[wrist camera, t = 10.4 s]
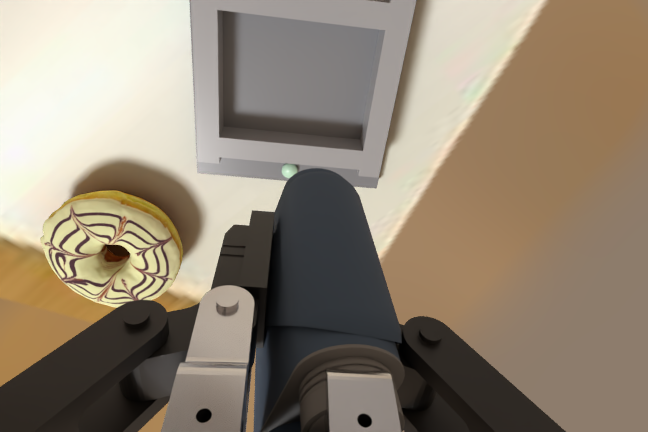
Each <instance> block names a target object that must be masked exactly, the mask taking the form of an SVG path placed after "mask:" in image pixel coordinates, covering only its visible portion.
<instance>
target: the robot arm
mask: <svg viewBox="0 0 648 432" xmlns="http://www.w3.org/2000/svg"><path fill="white" fill-rule="evenodd" d="M274 215H275V212H265V211H252V214H251V219H250V225H249V226H246V225H233V226H232V227H231V228H230V229H229V230H228V231H227V232H226V233H225V236H224V240H223V244H222V248H221V252H220V256H219V260H218V264H217V268H216V272H215V275H214V279H213V283H212V287H211V290H210V291H208V292H207V293H206V294H205V295H204V296H203V297H202V299H201V301H200V303H198V304H197V305H194V306H192V307H189V308H186V309H182V310H177V311H171V312H167V311H166V309H165V308H164V307H163V306H162V305H161V304H159V303H157V302H155V301H151V300H136V301H131V302H128V303H125V304H123V305H121V306H119V307H118V308H116V309H115V310H113V311H112V312H110V313H109V314H107V315H106V316H104V317H103V318H101V319H100V320H98V321H97V322H96V323H94V324H93V325H91V326H90V327H88V328H87V329H85V330H84V331H82V332H81V333H79V334H78V335H76V336H75V337H73V338H72V339H71V340H69V341H67V342H66V343H64V344H63V345H62V346H60V347H59V348H57V349H56V350H54V351H53V352H51V353H50V354H49V355H47V356H45V357H44V358H42V359H41V360H39V361H38V362H36V363H35V364H33V365H32V366H31V367H29V368H28V369H26V370H25V371H23V372H22V373H20V374H19V375H17V376H16V377H14V378H13V379H11V380H10V381H8V382H7V383H5V384H4V385H2V386H1V387H0V432H138V431H139V430H140V429H141V428H142V427H143V426H144V425H145V424H146V423H147V422H148V421H149V420H150V419H151V418H152V417H153V416H154V415H155V414H156V413H157V412H159V411H160V410H161V409H162V408H163V407H164V406H165V405H166V404H167V403H168V402H169V403H168V407H167V411H166V415H165V418H164V422H163V427H162V430H161V432H246V423H247V412H248V402H249V392H250V381H251V368H252V365H253V363H254V358H255V349H256V348H263V343H264V332H265V317H266V306H267V295H268V284H269V273H270V262H271V251H272V242H273V230H274ZM399 326H400V329H401V337H402V344H396V342H395V344H396V348H397V351H398V355H399V358H400V361H401V363H402V365H403V367H404V371H405V377H404V380H403V383H402V384H401V386H400V387H399V389H398V390H397V393H398V397H399V401H400V405H401V409H402V412H403V416H404V420H405V425H404V428H403V430H404V431H405V432H566V431H564V430H563V429H562V428H561V427H560V426H559V425H558V424H557V423H555V422H554V421H553V420H552V419H551V418H550V417H549V416H548V415H546V414H545V413H544V412H543V411H542V410H541V409H539V408H538V407H537V406H536V405H535V404H534V403H533V402H532V401H531V400H529V399H528V398H527V397H526V396H525V395H524V394H523V393H522V392H521V391H519V390H518V389H517V388H516V387H515V386H514V385H513V384H512V383H510V382H509V381H508V380H507V379H506V378H505V377H504V376H503V375H501V374H500V373H499V372H498V371H497V370H496V369H495V368H494V367H493V366H491V365H490V364H489V363H488V362H487V361H486V360H485V359H483V358H482V357H481V356H480V355H479V354H478V353H477V352H476V351H475V350H473V349H472V348H471V347H470V346H469V345H468V344H467V343H466V342H464V341H463V340H462V339H461V338H460V337H459V336H458V335H457V334H455V333H454V332H453V331H452V330H451V329H450V328H449V327H447V326H446V325H445V324H444V323H442V322H440V321H438V320H436V319H434V318H430V317H424V316H419V317H414V318H411V319H410V320H408V321H407V322H406V324H405V325H401V324H399ZM325 372H326V378H325V381H326V412H325V416H324V424H325V432H401V426H400V421H399V415H398V409H397V404H396V398H395V392H394V387H393V381H392V377H391V374H390V373H389V372H388V371H376V370H372V371H360V370H347V369H339V368H325Z"/></svg>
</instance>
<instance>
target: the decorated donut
mask: <svg viewBox="0 0 648 432" xmlns="http://www.w3.org/2000/svg"><path fill="white" fill-rule="evenodd" d="M43 232H44V235H43V237H41V239H40V240H41V244H42V246H43V249H44V251H45V255H46V258H47V259H48V262H49V264H50V266H51V268H52V269H53V271H54V272H55V273H56V275H57V276H58V277H59V278H60V280H61V281H63V282H64V283H65V284H66V285H67V286H68V287H70V288H71V289H72V290H73V291H75V292H76V293H78V294H80V295H82V296H84V297H86V298H88V299H90V300H92V301H94V302H97V303H100V304H104V305H108V306H112V307H119V306H121V305H123V304H125V303H128V302H131V301H136V300H153V299H155V298H157V297H159V296H160V295H161V294H162V293H164V292H165V291H166V290H167V289H168V288H169V287H170V286H171V285H172V283H173V282H174V280H175V278H176V276H177V274H178V271H179V269H180V266H181V262H182V257H183V248H182V243H181V239H180V237H179V234H178V232H177V229H176V228H175V226H174V225H173V223H172V221H171V219H170V218H169V217H168V216H167V215H166V214H165V213H164V211H163V210H161V209H160V208H159V207H157V206H156V205H154V204H152V203H150V202H148V201H146V200H144V199H143V198H140V197H136V196H133V195H130V194H127V193H123V192H120V191H117V190H110V191H96V192H91V193H85V194H81V195H78V196H76V197H73V198H71V199H69V200H67V201H66V202H64V204H63V205H62V206H61V207H60V208H59V209H58V210H56V211H55V212H53V213H52V214H51V215H50V217H49V218H48V219H47V220H46V221H45V222H44V225H43ZM105 244H109V245H121V246H123V247H125V248H126V249H127V250H128V252H129V253H130V255H127V256H124V257H120V256H116V255H114V254H113V253H112V252H111V251H109V250H108V248H107V247H106V245H105Z"/></svg>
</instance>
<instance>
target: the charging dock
mask: <svg viewBox="0 0 648 432" xmlns="http://www.w3.org/2000/svg"><path fill="white" fill-rule="evenodd" d="M416 1H417V0H190V18H191V41H192V63H193V85H194V107H195V130H196V152H197V173H203V174H214V175H226V176H238V177H249V178H261V179H273V180H284V181H288V180H289V179H290V177H292V176H293V175H294V174H296V173H298V172H300V171H302V170H305V169H310V168H322V169H327V170H330V171H333V172H335V173H337V174H339V175H340V176H342V177H343V178H344V179H346V180H347V181H348V182H349V183H350V184H352V186H355V187H366V188H377V184H378V179H379V174H380V170H381V165H382V160H383V156H384V151H385V146H386V141H387V137H388V132H389V127H390V123H391V118H392V113H393V109H394V104H395V99H396V94H397V90H398V85H399V80H400V76H401V71H402V66H403V62H404V57H405V52H406V48H407V43H408V38H409V33H410V29H411V24H412V19H413V15H414V10H415V5H416Z"/></svg>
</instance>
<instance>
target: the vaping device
mask: <svg viewBox="0 0 648 432" xmlns="http://www.w3.org/2000/svg"><path fill="white" fill-rule="evenodd" d="M395 342H396V344H402V337H401V329H400V326H399V322H398V319H397V316H396V313H395V310H394V306H393V303H392V300H391V297H390V293H389V290H388V287H387V284H386V281H385V277H384V274H383V271H382V268H381V264H380V261H379V258H378V255H377V252H376V248H375V245H374V242H373V239H372V235H371V232H370V229H369V226H368V223H367V219H366V216H365V213H364V210H363V207H362V203H361V200H360V197H359V195H358V193H357V192H356V190H355V188H354V187H353V186H352V184H350V183H349V182H348V181H347V180H346V179H344V178H343V177H342V176H340V175H339V174H337V173H335V172H333V171H330V170H327V169H322V168H310V169H305V170H302V171H300V172H298V173H296V174H294V175H293V176H292V177H290V179H289V180H288V181H287V183H286V185H285V187H284V190H283V192H282V195H281V197H280V200H279V203H278V205H277V208H276V210H275V215H274V230H273V242H272V251H271V262H270V273H269V284H268V295H267V306H266V317H265V332H264V343H263V348H256V369H255V402H254V403H255V404H254V432H325V424H324V416H325V412H326V381H325V378H326V372H325V368H339V369H347V370H360V371H372V370H376V371H388V372H389V373H390V374H391V377H392V381H393V387H394V392H395V398H396V404H397V409H398V415H399V421H400V426H401V432H402V431H403V428H404V425H405V420H404V416H403V412H402V409H401V405H400V401H399V397H398V393H397V390H398V389H399V387H400V386H401V384H402V383H403V380H404V377H405V371H404V367H403V365H402V363H401V361H400V358H399V355H398V351H397V348H396V344H395Z"/></svg>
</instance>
